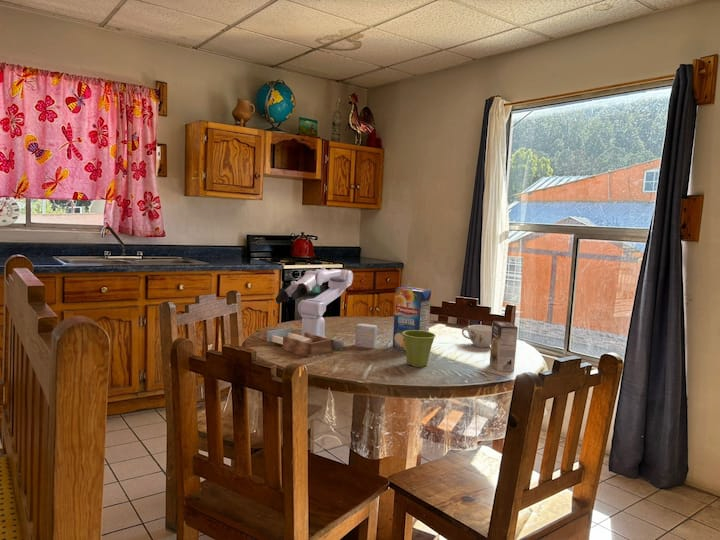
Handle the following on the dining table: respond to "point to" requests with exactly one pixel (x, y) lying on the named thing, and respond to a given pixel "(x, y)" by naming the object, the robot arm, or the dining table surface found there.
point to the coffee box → (503, 346)
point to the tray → (279, 333)
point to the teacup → (479, 335)
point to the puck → (338, 344)
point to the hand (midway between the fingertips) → (284, 299)
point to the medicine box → (366, 336)
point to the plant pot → (418, 347)
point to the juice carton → (410, 313)
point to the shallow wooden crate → (308, 345)
